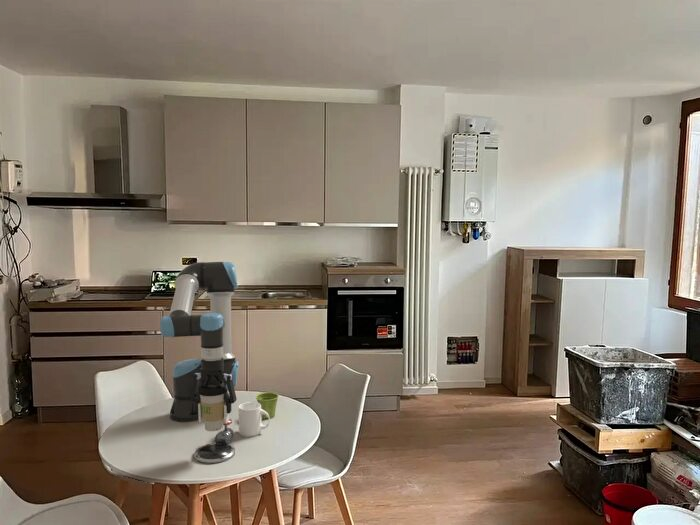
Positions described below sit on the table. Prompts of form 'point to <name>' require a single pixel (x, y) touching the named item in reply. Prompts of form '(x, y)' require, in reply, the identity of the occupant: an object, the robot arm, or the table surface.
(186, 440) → the table surface
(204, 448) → the metal device with knob
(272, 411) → the plant pot
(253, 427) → the mug
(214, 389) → the coffee cup
